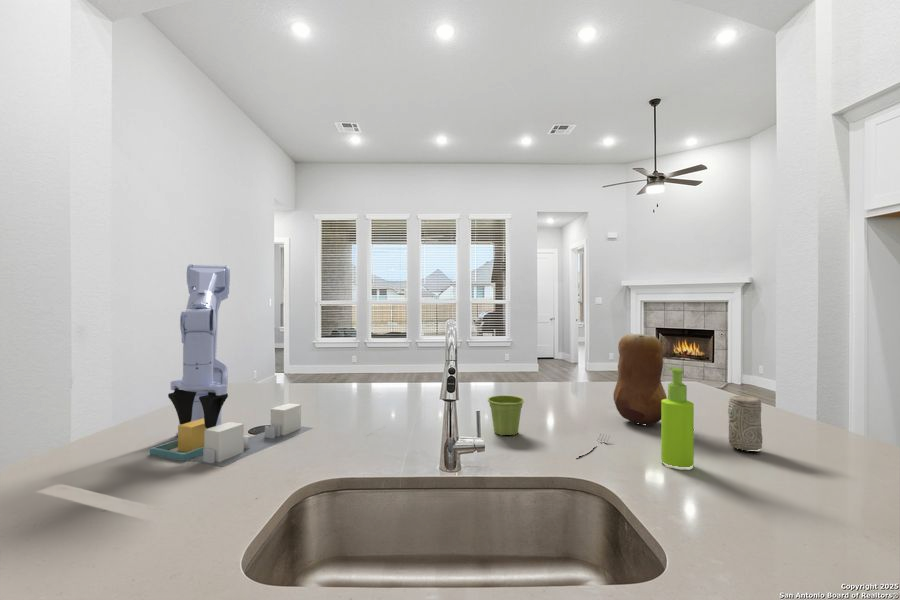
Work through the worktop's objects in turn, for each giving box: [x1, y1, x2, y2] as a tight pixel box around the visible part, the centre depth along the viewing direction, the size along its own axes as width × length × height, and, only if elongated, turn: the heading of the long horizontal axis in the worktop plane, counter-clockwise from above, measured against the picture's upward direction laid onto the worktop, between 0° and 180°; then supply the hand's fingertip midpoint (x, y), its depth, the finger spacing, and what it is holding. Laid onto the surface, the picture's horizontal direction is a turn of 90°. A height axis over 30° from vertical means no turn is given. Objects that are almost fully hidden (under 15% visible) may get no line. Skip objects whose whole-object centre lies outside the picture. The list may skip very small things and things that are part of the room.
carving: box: [727, 395, 764, 451], centre depth 97 cm, size 6×8×12 cm
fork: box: [596, 433, 610, 443], centre depth 97 cm, size 3×16×2 cm, turn 138°
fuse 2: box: [270, 403, 302, 435], centre depth 105 cm, size 4×6×6 cm, turn 160°
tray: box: [149, 439, 204, 462], centre depth 93 cm, size 10×14×3 cm
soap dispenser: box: [660, 366, 695, 467], centre depth 88 cm, size 6×7×20 cm
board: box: [187, 423, 313, 468], centre depth 96 cm, size 9×27×4 cm, turn 160°
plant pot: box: [487, 394, 525, 436], centre depth 109 cm, size 9×9×9 cm
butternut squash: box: [613, 332, 668, 426], centre depth 118 cm, size 14×13×25 cm
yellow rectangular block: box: [177, 418, 215, 453], centre depth 93 cm, size 4×6×6 cm, turn 160°
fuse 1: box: [204, 421, 245, 462], centre depth 88 cm, size 4×6×6 cm, turn 160°
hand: (197, 425), depth 93 cm, fingers open, 7 cm apart
